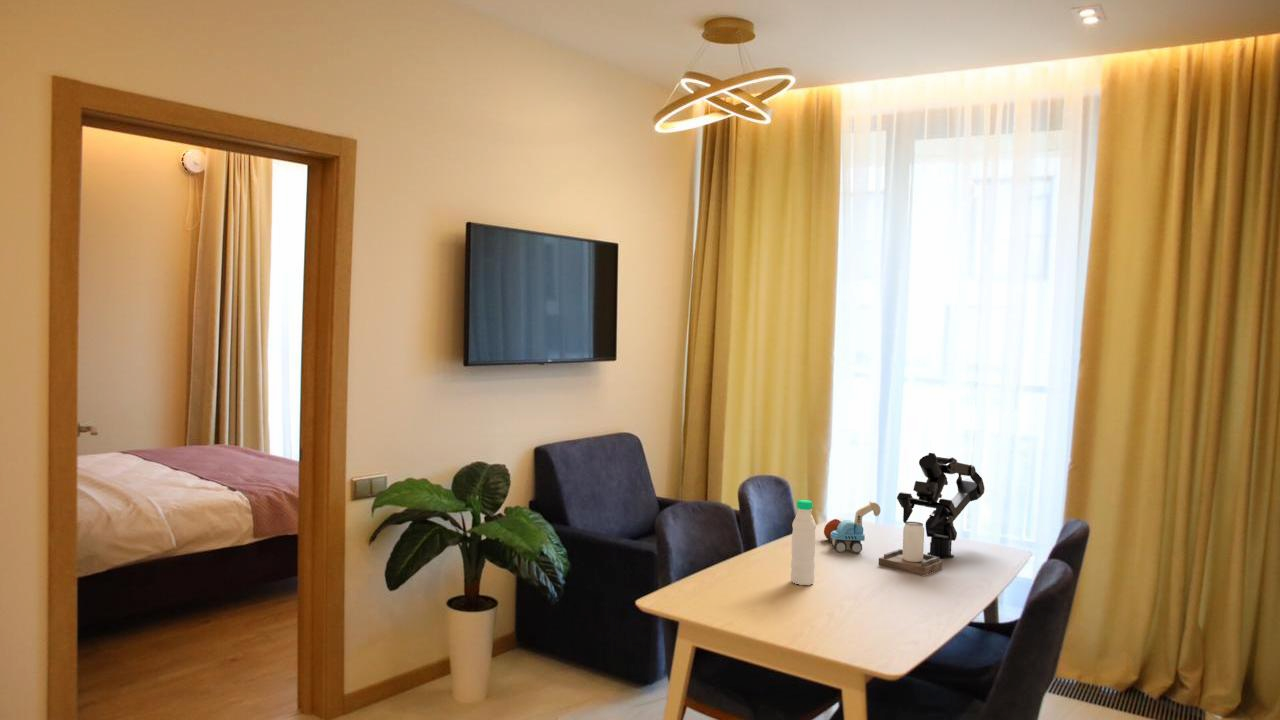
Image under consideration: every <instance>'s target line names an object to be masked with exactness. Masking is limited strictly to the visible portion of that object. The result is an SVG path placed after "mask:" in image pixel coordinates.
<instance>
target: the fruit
mask: <svg viewBox="0 0 1280 720" xmlns="http://www.w3.org/2000/svg"><path fill="white" fill-rule="evenodd" d="M840 522H842V521H841V520H840V519H837V518H835V519H831V520H830V521H829V522H827V523H826V524H825V526H824V529H823V535H824V537H825V539H827V540H828V541H830V540H831V532H832V531H836V530H837V527H838V525H839V523H840Z"/></svg>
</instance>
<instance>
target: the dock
mask: <svg viewBox="0 0 1280 720" xmlns="http://www.w3.org/2000/svg"><path fill="white" fill-rule="evenodd" d="M902 555H903V548H902V549H901V548H898V549H895V550H892V551H890V552H887V553H883V556H881V557H878V567H883V568H887V569H892V570H896V571H900V572H905V573H909V574H913V573H914V575H917V574H919V575H918V576H922V575H924V576H923V577H925V575H926V576H928V575H931V574H933V573H935V572H934V571H936V572H938V571H940V570H939V569H941V568H942V569H943V561H942V560H940V558H939V557H936V556H932V555H929V554H926V553H923V561H922V562H908V561H905V560H903V558H902ZM942 569H941V570H942ZM937 570H938V571H937ZM932 572H933V573H932ZM930 573H931V574H930ZM927 574H928V575H927Z"/></svg>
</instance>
